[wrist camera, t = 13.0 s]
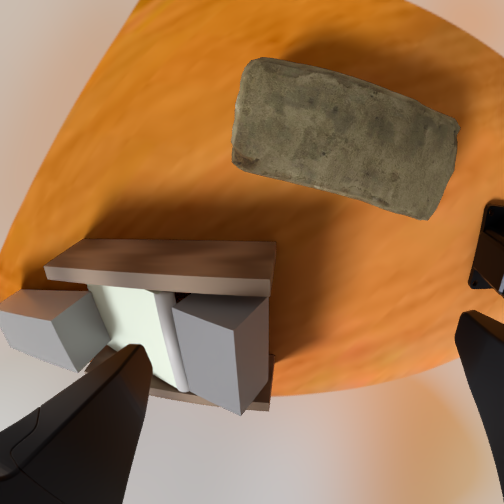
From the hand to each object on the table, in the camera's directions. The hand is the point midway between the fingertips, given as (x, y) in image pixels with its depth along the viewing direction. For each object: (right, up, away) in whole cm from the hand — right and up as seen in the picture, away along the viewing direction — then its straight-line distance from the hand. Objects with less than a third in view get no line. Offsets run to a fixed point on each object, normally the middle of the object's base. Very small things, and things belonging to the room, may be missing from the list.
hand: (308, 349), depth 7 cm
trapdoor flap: (-6, -2, +14) cm, 16 cm away
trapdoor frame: (-7, -2, +15) cm, 17 cm away
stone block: (+4, +9, +9) cm, 14 cm away
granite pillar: (-14, -4, +12) cm, 19 cm away
